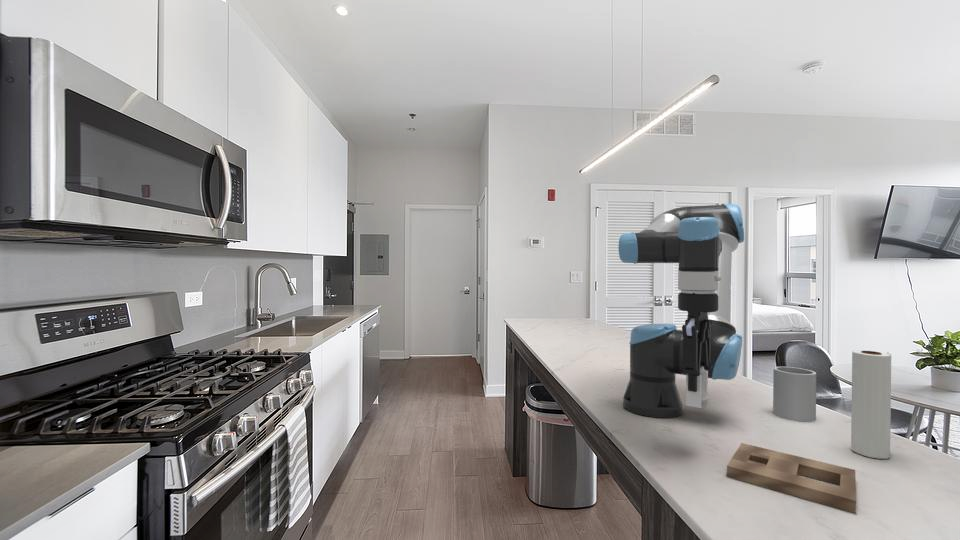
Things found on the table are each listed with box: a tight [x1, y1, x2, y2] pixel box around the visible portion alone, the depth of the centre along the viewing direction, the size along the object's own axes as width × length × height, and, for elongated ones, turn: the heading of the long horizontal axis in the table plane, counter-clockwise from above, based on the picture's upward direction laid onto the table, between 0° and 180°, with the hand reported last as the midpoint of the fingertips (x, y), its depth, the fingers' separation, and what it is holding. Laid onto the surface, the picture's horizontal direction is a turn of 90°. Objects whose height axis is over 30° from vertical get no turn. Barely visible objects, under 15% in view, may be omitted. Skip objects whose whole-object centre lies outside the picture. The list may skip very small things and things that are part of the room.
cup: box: [772, 366, 817, 423], centre depth 113 cm, size 9×9×12 cm
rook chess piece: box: [685, 366, 710, 409], centre depth 90 cm, size 4×4×8 cm
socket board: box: [726, 442, 857, 514], centre depth 79 cm, size 18×14×2 cm
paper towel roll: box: [850, 350, 892, 460], centre depth 90 cm, size 7×6×21 cm
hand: (696, 402), depth 90 cm, fingers closed on rook chess piece, 4 cm apart
